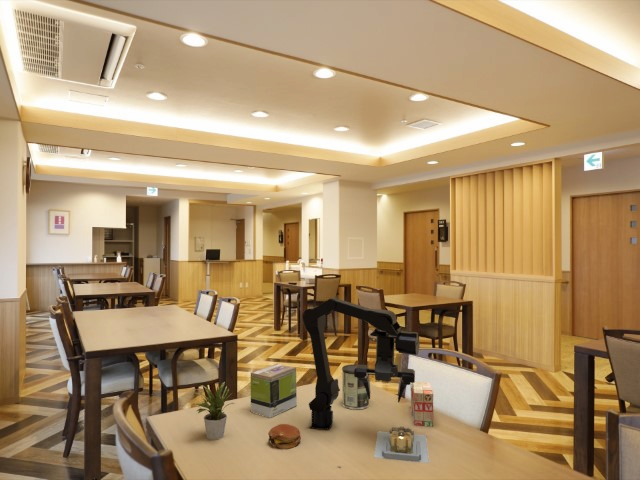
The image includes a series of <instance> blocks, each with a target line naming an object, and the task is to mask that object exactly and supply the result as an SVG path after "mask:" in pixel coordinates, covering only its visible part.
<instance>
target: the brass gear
mask: <svg viewBox="0 0 640 480" xmlns="http://www.w3.org/2000/svg"><path fill="white" fill-rule="evenodd" d="M390 451H391V452H395V453H405V454H411V453H413V435H411V433H409V432H406V433H405V432H403V431H400V430H399V432H396V431H393V432H392V434H391V433H390Z"/></svg>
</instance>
